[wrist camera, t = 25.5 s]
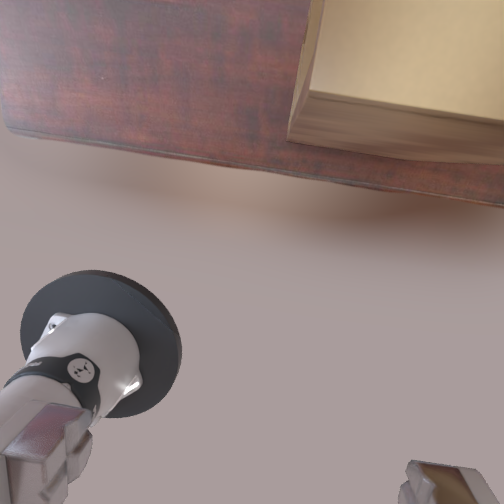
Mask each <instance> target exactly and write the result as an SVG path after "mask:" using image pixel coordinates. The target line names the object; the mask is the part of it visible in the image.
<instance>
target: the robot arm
mask: <svg viewBox="0 0 504 504" xmlns="http://www.w3.org/2000/svg"><path fill="white" fill-rule="evenodd" d="M55 325H56V326H55ZM139 361H140V354H139V348H138V345H137V343H136V340H135V339H134V337H133V335H132V334H131V333H130V331H129V330H128V329H127V328H126V327H125V326H124V325H122V324H121V323H120V322H118V321H117V320H115V319H113V318H111V317H109V316H106V315H103V314H99V313H83V314H77V315H71V314H66V313H55V314H54V315H53V316H52V317H51V318H50V320H49V322H48V324H47V326H46V328H45V330H44V332H43V334H42V336H41V338H40V340H39V341H38V342H37V343H36V344H34V345H33V346H32V348H31V353H30V355H29V357H28V359H27V362H26V365H25V366H24V367H22V368H21V369H19V370H18V371H17V372H16V373H15V374H14V375H13V376H12V377H11V378H10V379H9V380H8V381H7V383H6V384H5V386H4V388H3V389H2V390H1V391H0V504H63V502H64V500H65V499H66V497H67V496H68V484H69V483H71V482H72V481H74V480H75V479H77V478H78V477H79V476H80V475H81V473H82V471H83V470H84V468H85V466H86V464H87V461H88V459H89V456H90V454H91V449H92V434H91V433H90V432H89V430H88V428H89V427H93V426H94V425H95V424H96V423H97V422H98V421H99V420H100V419H101V417H102V418H104V417H105V416H106V415H107V414H108V413H109V412H110V411H111V410H112V409H113V408H114V407H115V406H116V404H117V403H118V402H119V401H120V400H122V399H123V398H125V397H127V396H128V395H130V394H132V393H133V392H135V391H137V390H138V389H139V388H140V387H141V386H142V384H143V379H142V376H141V373H140V371H139ZM405 472H406V474H407V476H408V479H409V480H408V481H406V482H405V483H404V484H402V485H401V487H400V491H399V495H398V504H500V503H499V502H498V500H497V498H496V497H495V495H494V494H493V492H492V490H491V489H490V487H489V486H488V484H487V483H486V481H485V479H484V478H483V476H482V475H481V474H480V473H479V472H478V471H477V470H476V469H472V468H465V467H458V466H451V465H444V464H437V463H430V462H423V461H417V460H411V461H410V462H409V463H408V466H407V469H406V471H405Z"/></svg>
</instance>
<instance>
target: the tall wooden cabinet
mask: <svg viewBox="0 0 504 504" xmlns="http://www.w3.org/2000/svg"><path fill="white" fill-rule="evenodd" d="M286 141H288V142H294V143H300V144H307V145H313V146H320V147H326V148H332V149H339V150H345V151H351V152H358V153H364V154H370V155H377V156H383V157H389V158H396V159H402V160H408V161H427V162H447V163H468V164H488V165H504V0H311V3H310V8H309V13H308V17H307V22H306V27H305V32H304V37H303V43H302V49H301V55H300V61H299V66H298V72H297V78H296V84H295V90H294V95H293V101H292V107H291V113H290V119H289V125H288V130H287V136H286Z"/></svg>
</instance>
